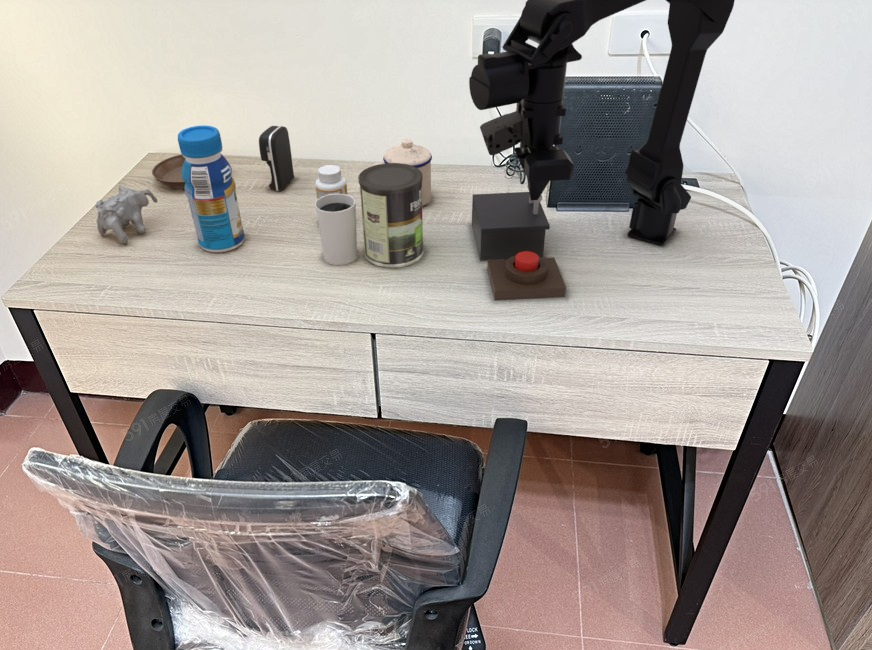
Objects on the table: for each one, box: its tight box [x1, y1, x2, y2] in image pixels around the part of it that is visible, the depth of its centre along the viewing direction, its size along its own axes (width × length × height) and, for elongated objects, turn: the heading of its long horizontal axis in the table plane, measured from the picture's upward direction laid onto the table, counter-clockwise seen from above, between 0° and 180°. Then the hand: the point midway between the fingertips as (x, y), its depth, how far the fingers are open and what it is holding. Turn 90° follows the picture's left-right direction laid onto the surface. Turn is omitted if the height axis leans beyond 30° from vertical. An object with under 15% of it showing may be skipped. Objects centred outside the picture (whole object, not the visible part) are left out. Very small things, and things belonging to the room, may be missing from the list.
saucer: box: [151, 154, 186, 190], centre depth 147 cm, size 15×15×3 cm
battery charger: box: [258, 125, 295, 192], centre depth 141 cm, size 7×4×11 cm, turn 162°
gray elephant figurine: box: [95, 185, 158, 244], centre depth 129 cm, size 9×12×8 cm
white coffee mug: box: [314, 194, 358, 266], centre depth 118 cm, size 7×7×10 cm
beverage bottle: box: [177, 125, 246, 253], centre depth 120 cm, size 8×8×20 cm
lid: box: [471, 184, 551, 233], centre depth 119 cm, size 11×13×4 cm
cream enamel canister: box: [371, 139, 433, 207], centre depth 134 cm, size 12×9×12 cm
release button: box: [515, 251, 539, 272], centre depth 111 cm, size 4×4×2 cm
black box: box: [471, 198, 547, 262], centre depth 122 cm, size 11×13×5 cm
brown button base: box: [486, 255, 567, 301], centre depth 112 cm, size 11×9×4 cm
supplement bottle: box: [315, 164, 348, 200], centre depth 128 cm, size 6×6×10 cm
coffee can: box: [357, 162, 424, 269], centre depth 117 cm, size 10×10×14 cm
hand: (534, 199), depth 109 cm, fingers closed
